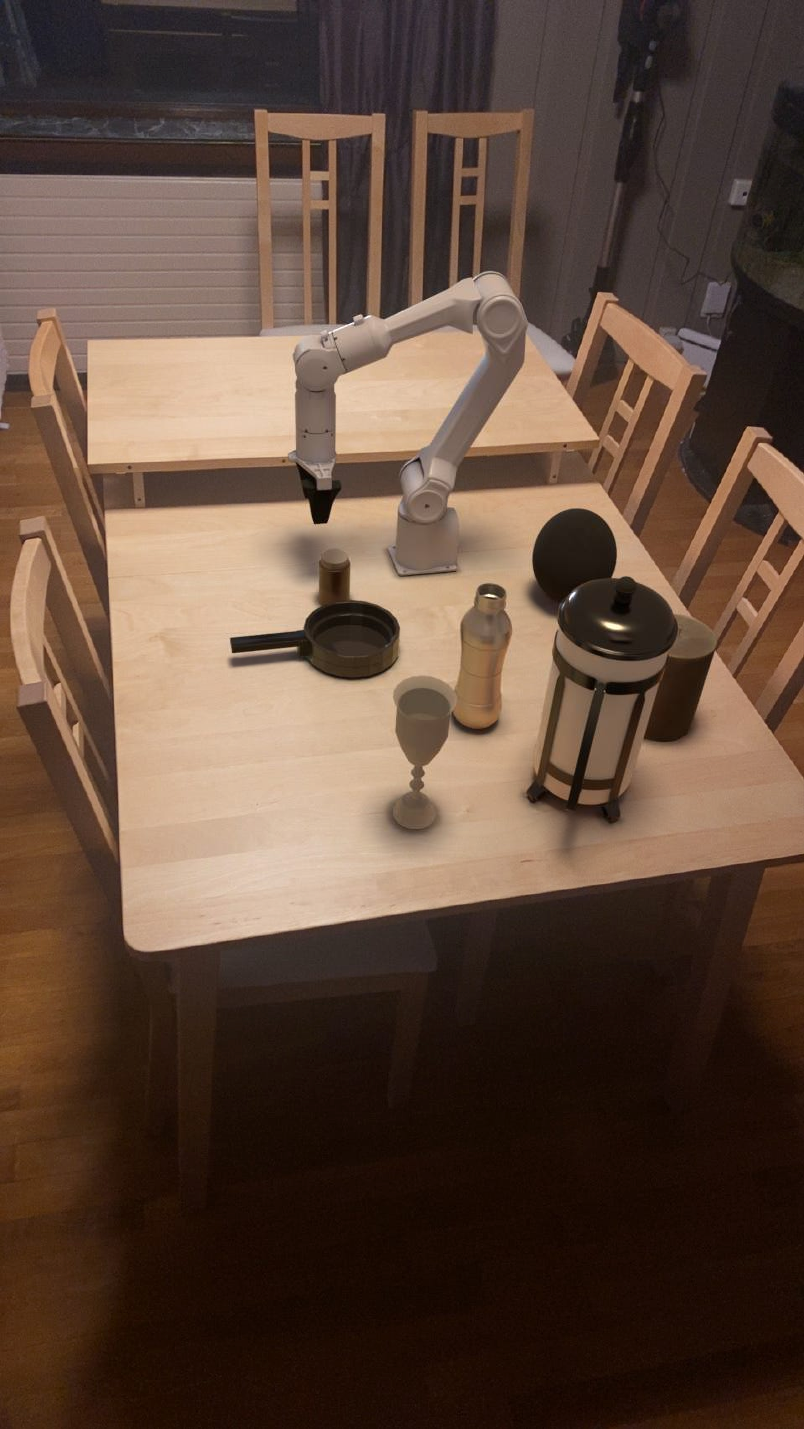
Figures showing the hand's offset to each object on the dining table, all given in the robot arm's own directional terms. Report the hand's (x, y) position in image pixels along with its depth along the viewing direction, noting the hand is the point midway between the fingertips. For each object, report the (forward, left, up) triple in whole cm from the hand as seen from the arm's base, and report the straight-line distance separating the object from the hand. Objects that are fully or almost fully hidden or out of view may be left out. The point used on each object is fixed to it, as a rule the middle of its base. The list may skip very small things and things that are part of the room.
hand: (315, 509), depth 151 cm
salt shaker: (-1, +11, -9) cm, 14 cm away
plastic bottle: (-14, +40, -10) cm, 43 cm away
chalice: (-2, +55, -10) cm, 56 cm away
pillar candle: (-38, +44, -10) cm, 59 cm away
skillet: (-1, +23, -9) cm, 25 cm away
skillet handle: (+10, +23, -9) cm, 27 cm away
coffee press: (-23, +55, -10) cm, 60 cm away
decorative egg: (-36, +16, -10) cm, 41 cm away
